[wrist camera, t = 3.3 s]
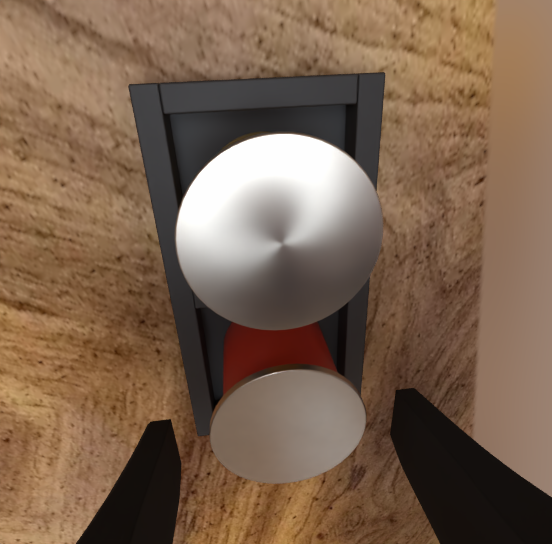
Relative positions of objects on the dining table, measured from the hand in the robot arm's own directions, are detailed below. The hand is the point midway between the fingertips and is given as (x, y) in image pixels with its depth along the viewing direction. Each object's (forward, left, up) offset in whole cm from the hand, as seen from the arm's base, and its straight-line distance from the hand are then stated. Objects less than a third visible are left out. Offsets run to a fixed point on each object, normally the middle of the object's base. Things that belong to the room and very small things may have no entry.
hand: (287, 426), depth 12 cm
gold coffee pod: (0, -6, -4) cm, 8 cm away
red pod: (0, 0, -4) cm, 4 cm away
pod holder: (0, -3, -5) cm, 6 cm away
